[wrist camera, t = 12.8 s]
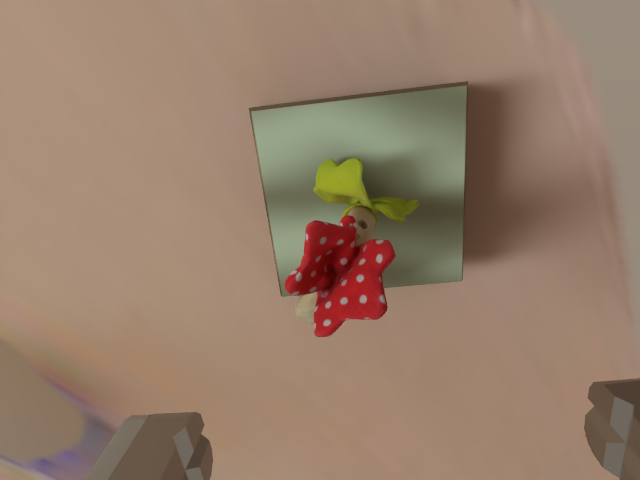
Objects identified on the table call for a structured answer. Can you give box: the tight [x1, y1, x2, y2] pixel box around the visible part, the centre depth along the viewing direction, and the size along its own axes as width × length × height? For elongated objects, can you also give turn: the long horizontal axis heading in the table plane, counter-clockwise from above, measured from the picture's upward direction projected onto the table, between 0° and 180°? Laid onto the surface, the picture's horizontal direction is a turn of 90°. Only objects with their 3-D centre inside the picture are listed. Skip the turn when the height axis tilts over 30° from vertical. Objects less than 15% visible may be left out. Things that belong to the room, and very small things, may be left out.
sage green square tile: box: [249, 82, 468, 297], centre depth 26 cm, size 13×13×4 cm
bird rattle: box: [285, 158, 419, 337], centre depth 20 cm, size 6×11×9 cm
